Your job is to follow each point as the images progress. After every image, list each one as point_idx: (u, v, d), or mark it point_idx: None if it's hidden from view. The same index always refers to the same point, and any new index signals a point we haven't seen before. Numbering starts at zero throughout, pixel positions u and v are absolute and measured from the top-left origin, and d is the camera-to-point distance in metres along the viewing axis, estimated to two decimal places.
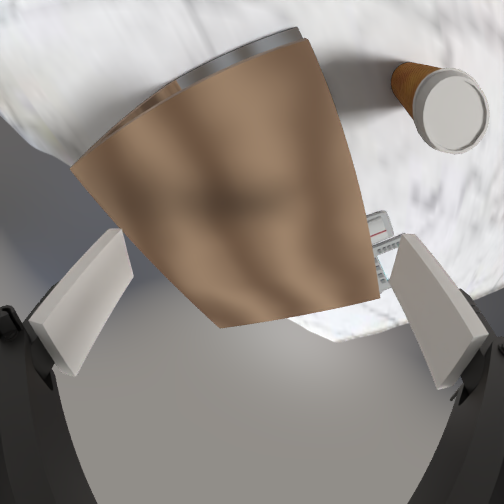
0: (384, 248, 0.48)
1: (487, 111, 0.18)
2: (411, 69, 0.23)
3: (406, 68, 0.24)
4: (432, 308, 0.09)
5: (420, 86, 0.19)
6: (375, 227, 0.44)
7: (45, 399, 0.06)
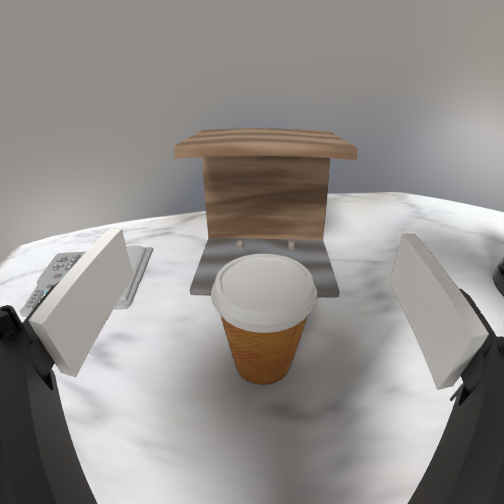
0: None
1: (264, 309, 0.22)
2: None
3: None
4: (432, 308, 0.09)
5: None
6: None
7: (45, 399, 0.06)
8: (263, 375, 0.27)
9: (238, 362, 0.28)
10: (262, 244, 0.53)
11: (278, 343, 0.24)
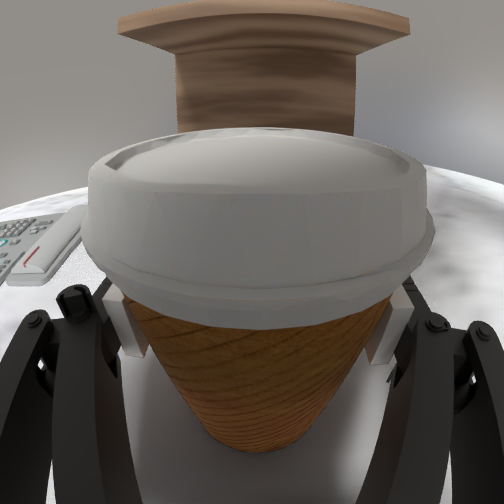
0: (3, 266, 0.22)
1: (254, 188, 0.04)
2: None
3: None
4: None
5: None
6: (40, 257, 0.22)
7: (109, 388, 0.06)
8: (255, 441, 0.09)
9: (190, 407, 0.10)
10: None
11: (311, 371, 0.06)
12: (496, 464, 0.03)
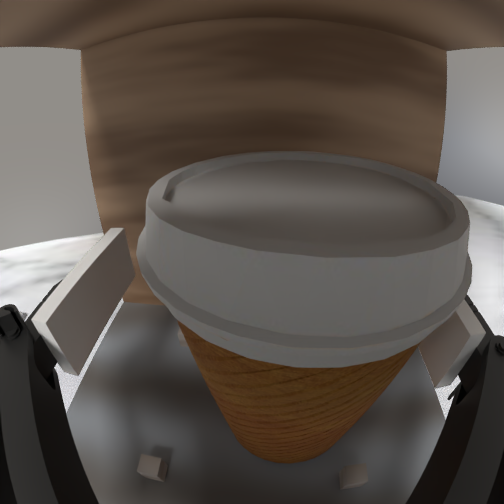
0: None
1: (351, 249, 0.04)
2: None
3: None
4: None
5: None
6: None
7: (47, 398, 0.06)
8: (293, 453, 0.09)
9: (231, 425, 0.10)
10: None
11: (364, 392, 0.06)
12: None
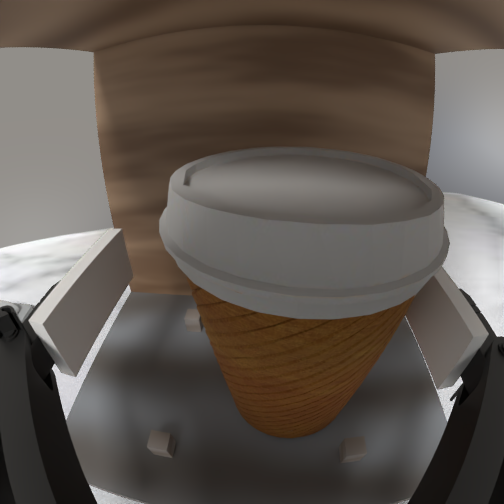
0: None
1: (337, 219, 0.05)
2: None
3: None
4: (432, 308, 0.09)
5: None
6: None
7: (45, 399, 0.06)
8: (295, 425, 0.11)
9: (237, 397, 0.11)
10: None
11: (357, 354, 0.07)
12: None
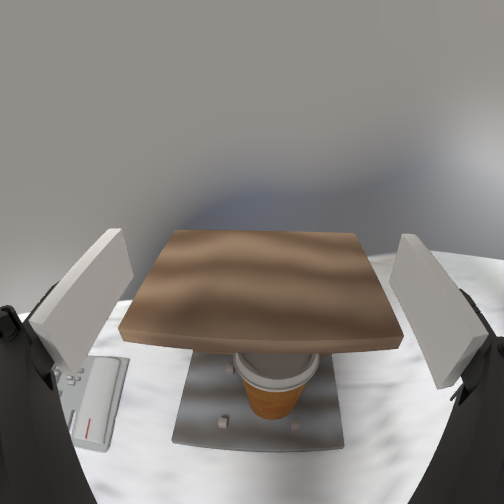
0: None
1: (276, 377, 0.26)
2: None
3: None
4: (432, 308, 0.09)
5: None
6: (96, 431, 0.28)
7: (45, 399, 0.06)
8: (272, 414, 0.31)
9: (252, 404, 0.32)
10: None
11: (286, 396, 0.28)
12: None
